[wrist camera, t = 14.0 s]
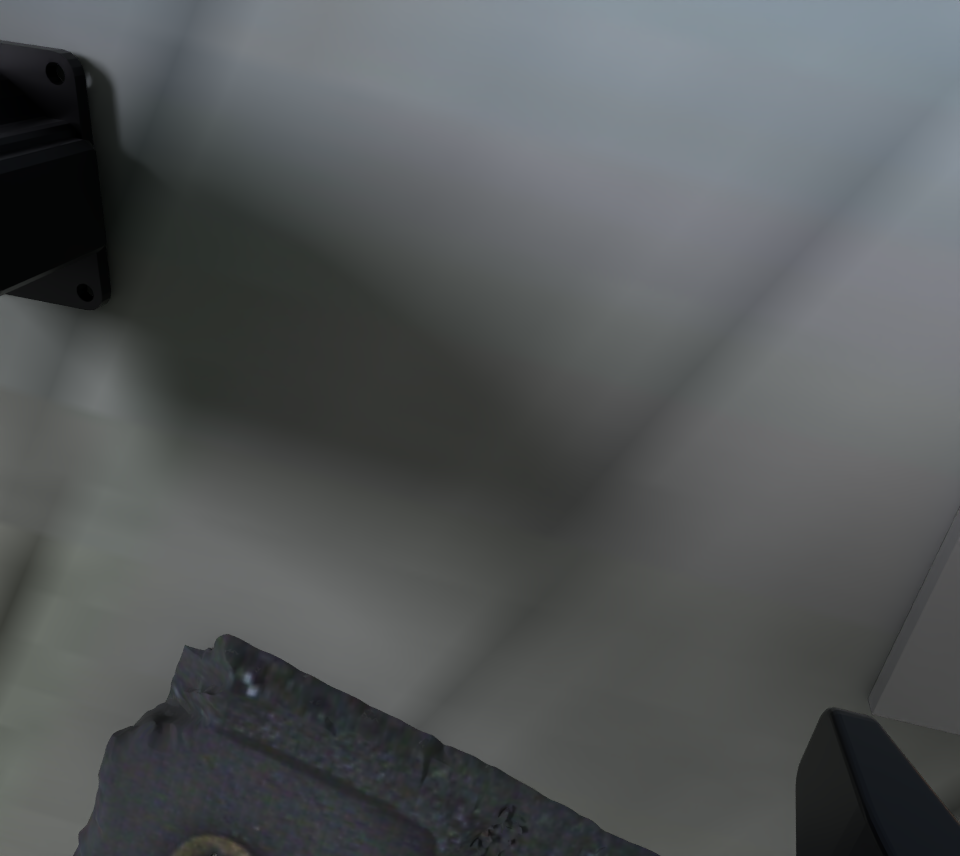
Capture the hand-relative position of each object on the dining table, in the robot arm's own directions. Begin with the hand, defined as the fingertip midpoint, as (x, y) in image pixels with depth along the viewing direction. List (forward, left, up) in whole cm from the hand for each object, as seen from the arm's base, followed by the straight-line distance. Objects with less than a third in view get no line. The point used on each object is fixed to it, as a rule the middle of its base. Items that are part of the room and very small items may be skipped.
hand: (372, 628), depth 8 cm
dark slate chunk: (-3, -25, -14) cm, 28 cm away
